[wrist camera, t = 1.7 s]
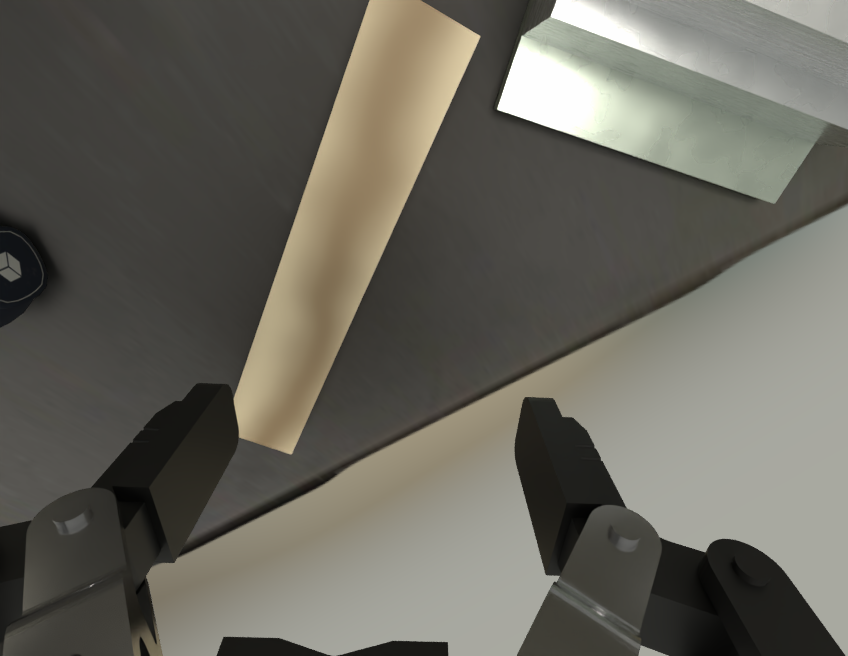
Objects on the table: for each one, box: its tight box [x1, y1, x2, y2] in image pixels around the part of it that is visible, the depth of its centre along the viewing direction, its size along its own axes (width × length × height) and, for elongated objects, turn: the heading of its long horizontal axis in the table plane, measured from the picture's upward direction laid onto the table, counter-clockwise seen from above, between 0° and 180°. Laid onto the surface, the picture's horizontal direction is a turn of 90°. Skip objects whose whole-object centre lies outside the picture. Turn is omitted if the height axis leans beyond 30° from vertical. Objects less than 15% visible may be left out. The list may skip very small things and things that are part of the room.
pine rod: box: [234, 0, 481, 454], centre depth 27 cm, size 5×28×5 cm, turn 154°
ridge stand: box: [493, 0, 848, 204], centre depth 18 cm, size 18×12×11 cm, turn 73°
